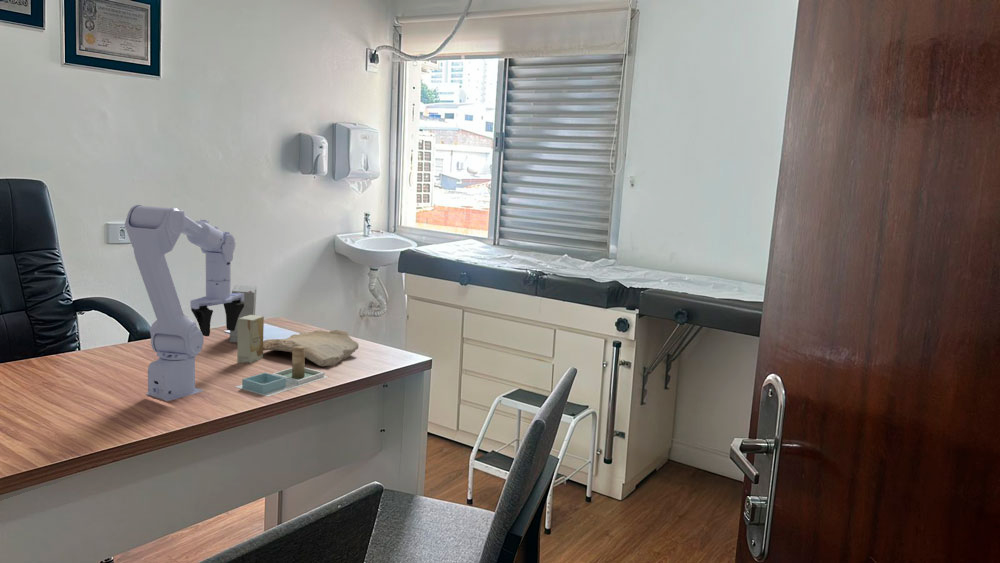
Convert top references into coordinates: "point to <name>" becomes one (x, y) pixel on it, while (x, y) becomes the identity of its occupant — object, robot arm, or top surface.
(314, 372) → the organizer
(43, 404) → the top surface
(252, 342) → the skincare box
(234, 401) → the top surface
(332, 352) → the tan rock slab
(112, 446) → the top surface
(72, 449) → the top surface
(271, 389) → the teal square tray
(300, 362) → the dowel
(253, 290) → the skincare box
